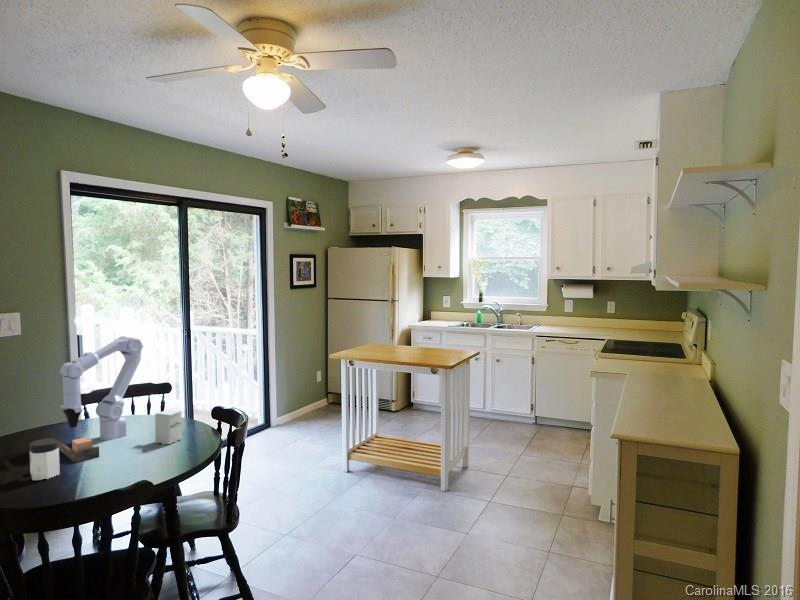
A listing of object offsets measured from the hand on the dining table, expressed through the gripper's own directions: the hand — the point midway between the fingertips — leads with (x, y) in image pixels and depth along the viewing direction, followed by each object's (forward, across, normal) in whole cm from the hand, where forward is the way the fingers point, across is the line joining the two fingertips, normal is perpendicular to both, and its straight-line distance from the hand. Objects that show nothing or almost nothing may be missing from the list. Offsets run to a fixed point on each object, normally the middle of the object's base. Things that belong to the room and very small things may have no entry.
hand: (73, 427), depth 204 cm
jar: (+10, +21, -15) cm, 28 cm away
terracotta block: (+8, +13, -1) cm, 15 cm away
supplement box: (+10, +17, +30) cm, 36 cm away
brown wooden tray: (+9, +8, -1) cm, 12 cm away
